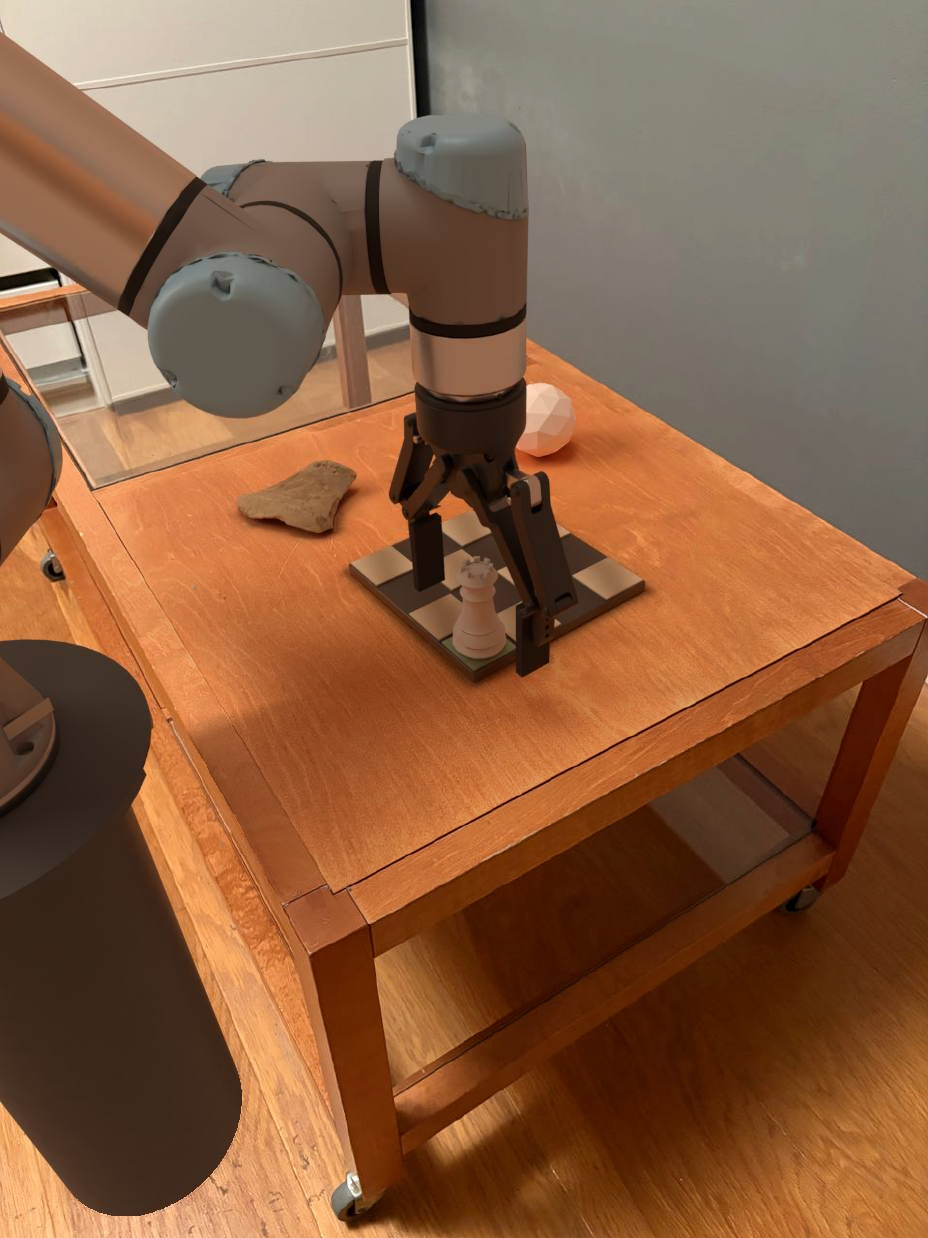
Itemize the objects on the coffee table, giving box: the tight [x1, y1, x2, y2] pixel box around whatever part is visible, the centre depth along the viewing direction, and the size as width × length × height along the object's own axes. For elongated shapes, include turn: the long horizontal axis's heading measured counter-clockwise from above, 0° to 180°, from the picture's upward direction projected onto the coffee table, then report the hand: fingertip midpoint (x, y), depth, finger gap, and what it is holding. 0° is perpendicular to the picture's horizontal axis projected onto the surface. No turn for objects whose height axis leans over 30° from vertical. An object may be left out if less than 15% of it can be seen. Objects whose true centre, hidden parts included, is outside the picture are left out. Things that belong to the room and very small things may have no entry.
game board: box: [348, 495, 646, 683], centre depth 86 cm, size 19×19×1 cm
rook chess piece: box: [452, 556, 506, 659], centre depth 75 cm, size 4×4×8 cm
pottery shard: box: [236, 459, 358, 534], centre depth 96 cm, size 11×4×10 cm
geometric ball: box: [515, 382, 578, 458], centre depth 102 cm, size 8×8×8 cm
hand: (478, 624), depth 76 cm, fingers open, 13 cm apart
